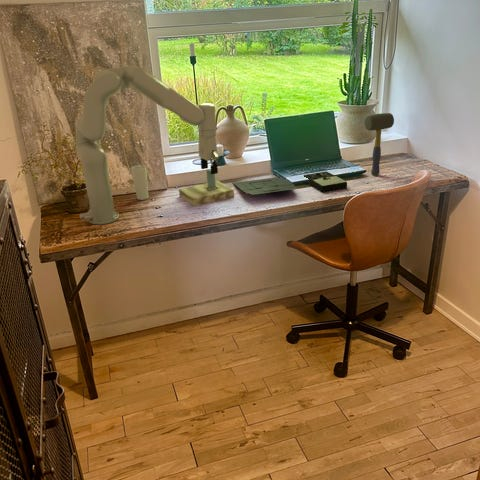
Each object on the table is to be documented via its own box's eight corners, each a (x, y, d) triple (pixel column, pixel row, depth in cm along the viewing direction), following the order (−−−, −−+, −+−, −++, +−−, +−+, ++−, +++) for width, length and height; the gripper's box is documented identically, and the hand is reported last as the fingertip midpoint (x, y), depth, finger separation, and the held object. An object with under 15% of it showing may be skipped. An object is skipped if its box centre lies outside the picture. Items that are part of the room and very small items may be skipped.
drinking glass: (136, 201, 217) (131, 170, 211) (135, 197, 223) (130, 166, 216) (151, 199, 218) (146, 168, 212) (149, 195, 224) (145, 164, 218)
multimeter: (326, 178, 236) (326, 168, 234) (347, 189, 220) (347, 179, 218) (302, 182, 233) (302, 172, 230) (322, 194, 216) (322, 183, 214)
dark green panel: (247, 201, 208) (247, 193, 207) (232, 188, 235) (232, 180, 234) (300, 194, 213) (300, 186, 211) (279, 182, 240) (279, 175, 239)
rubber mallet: (368, 179, 230) (372, 116, 217) (359, 175, 237) (363, 113, 224) (390, 175, 234) (396, 113, 221) (381, 171, 240) (386, 111, 227)
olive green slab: (194, 206, 208) (193, 199, 207) (179, 196, 221) (178, 189, 219) (234, 196, 217) (233, 189, 215) (217, 187, 230) (217, 180, 228)
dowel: (210, 197, 218) (208, 171, 213) (206, 194, 221) (204, 170, 216) (217, 195, 220) (215, 170, 214) (214, 193, 223) (212, 168, 217)
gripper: (191, 130, 213) (193, 168, 220) (208, 137, 199) (210, 177, 206) (206, 128, 216) (208, 165, 223) (224, 135, 203) (225, 174, 210)
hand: (209, 171), depth 215 cm, fingers open, 9 cm apart
